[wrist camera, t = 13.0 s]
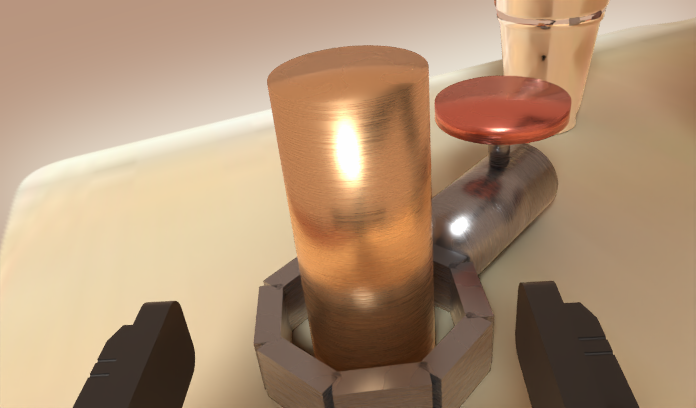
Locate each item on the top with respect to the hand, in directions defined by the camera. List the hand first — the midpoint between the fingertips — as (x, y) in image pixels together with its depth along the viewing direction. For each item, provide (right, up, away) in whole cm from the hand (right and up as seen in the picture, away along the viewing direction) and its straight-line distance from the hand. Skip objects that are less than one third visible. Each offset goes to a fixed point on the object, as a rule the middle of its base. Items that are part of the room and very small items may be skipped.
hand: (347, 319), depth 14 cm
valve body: (+4, -1, +13) cm, 14 cm away
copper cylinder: (+1, -3, +11) cm, 11 cm away
